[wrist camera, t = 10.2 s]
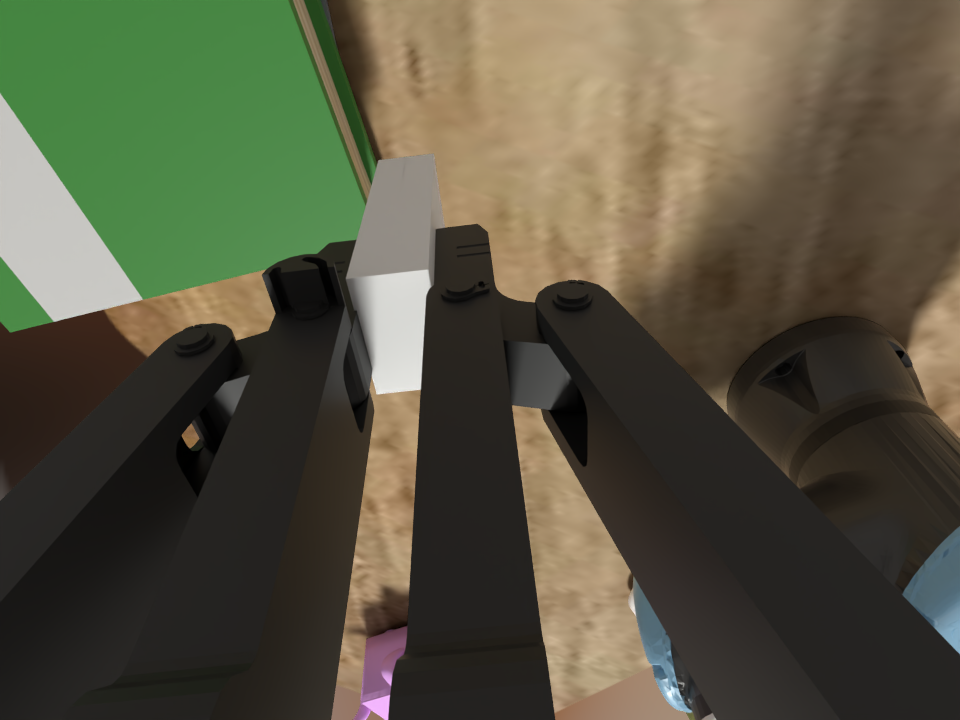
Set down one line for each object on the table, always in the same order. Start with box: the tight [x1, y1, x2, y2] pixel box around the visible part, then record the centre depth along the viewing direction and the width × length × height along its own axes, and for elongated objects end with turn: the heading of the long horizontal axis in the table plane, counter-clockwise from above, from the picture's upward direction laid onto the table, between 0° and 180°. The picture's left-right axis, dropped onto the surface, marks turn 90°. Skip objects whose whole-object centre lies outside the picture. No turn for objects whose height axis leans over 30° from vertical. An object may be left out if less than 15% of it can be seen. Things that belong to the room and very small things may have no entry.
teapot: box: [353, 626, 407, 720], centre depth 74 cm, size 18×14×10 cm
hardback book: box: [0, 0, 377, 332], centre depth 34 cm, size 18×7×24 cm
